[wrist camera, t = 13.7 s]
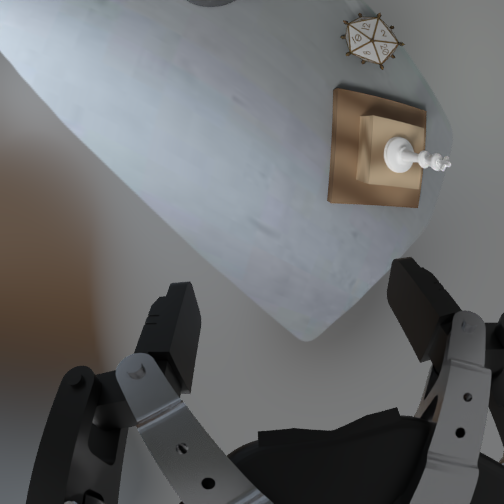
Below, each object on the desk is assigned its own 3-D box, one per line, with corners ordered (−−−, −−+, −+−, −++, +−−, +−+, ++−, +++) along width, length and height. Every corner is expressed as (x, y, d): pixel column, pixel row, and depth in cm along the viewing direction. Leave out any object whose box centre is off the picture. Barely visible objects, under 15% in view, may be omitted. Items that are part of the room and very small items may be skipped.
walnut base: (333, 89, 33) (349, 84, 28) (420, 111, 35) (440, 111, 31) (327, 200, 39) (342, 209, 34) (412, 205, 41) (431, 214, 37)
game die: (358, 53, 34) (416, 63, 28) (333, 72, 33) (398, 84, 27) (345, 5, 27) (408, 10, 21) (317, 17, 26) (389, 21, 20)
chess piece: (416, 150, 33) (467, 159, 23) (402, 179, 34) (452, 195, 25) (393, 129, 31) (445, 132, 22) (377, 159, 32) (428, 170, 23)
